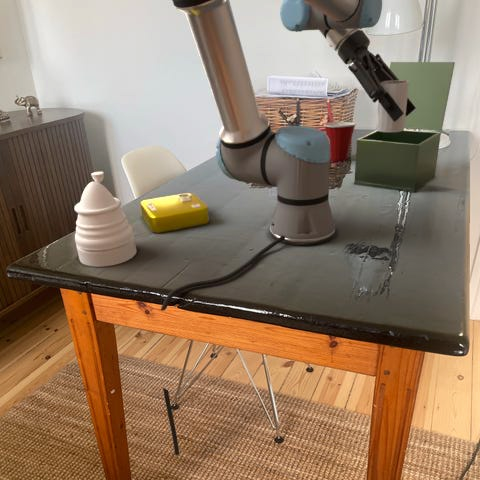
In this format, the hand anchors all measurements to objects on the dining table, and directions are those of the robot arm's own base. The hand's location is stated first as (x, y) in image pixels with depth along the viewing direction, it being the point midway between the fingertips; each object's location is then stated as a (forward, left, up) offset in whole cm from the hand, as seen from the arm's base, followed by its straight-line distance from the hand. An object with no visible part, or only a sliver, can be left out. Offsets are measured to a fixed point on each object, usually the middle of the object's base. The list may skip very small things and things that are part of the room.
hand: (405, 114), depth 125 cm
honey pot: (-68, +36, -22) cm, 80 cm away
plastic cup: (+29, +37, -22) cm, 52 cm away
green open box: (+16, +9, -22) cm, 29 cm away
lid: (+26, +10, 0) cm, 28 cm away
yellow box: (-44, +40, -22) cm, 63 cm away
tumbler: (0, +3, -4) cm, 5 cm away
